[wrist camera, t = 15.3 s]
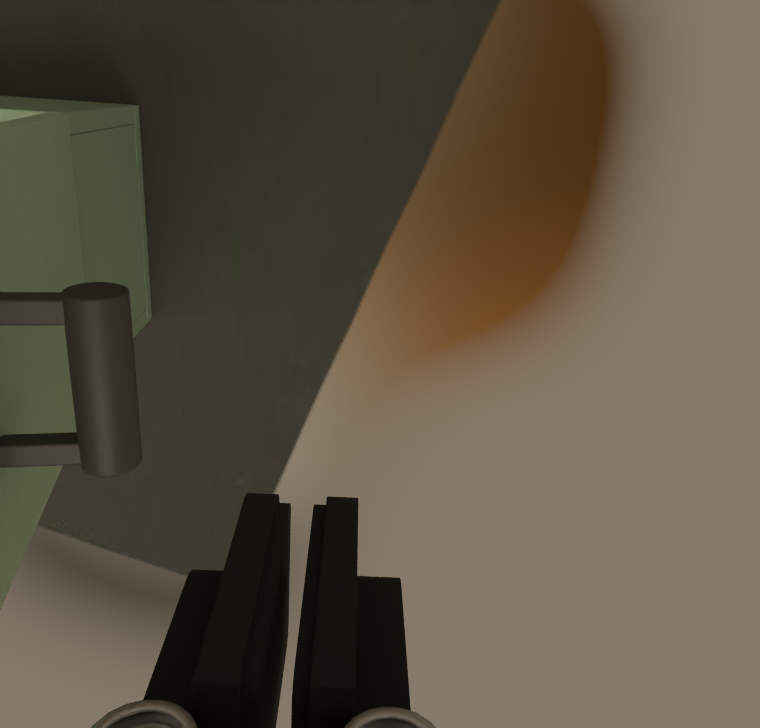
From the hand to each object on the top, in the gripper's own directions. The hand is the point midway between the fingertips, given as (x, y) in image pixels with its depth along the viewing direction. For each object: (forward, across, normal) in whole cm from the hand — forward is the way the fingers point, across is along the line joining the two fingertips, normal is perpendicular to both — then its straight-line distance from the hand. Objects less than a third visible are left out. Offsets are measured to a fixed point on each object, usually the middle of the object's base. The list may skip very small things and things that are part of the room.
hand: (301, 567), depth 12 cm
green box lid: (+11, +10, 0) cm, 15 cm away
